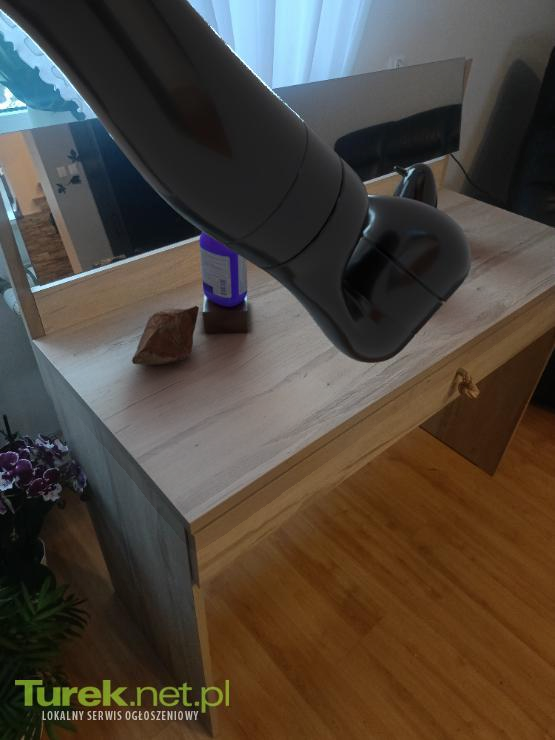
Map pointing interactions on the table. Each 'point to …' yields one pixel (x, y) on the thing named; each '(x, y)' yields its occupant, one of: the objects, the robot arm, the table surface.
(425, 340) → the table surface
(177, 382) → the table surface
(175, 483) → the table surface
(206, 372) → the table surface
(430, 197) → the pump dispenser
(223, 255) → the bottle
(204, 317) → the walnut block
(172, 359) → the fossil
